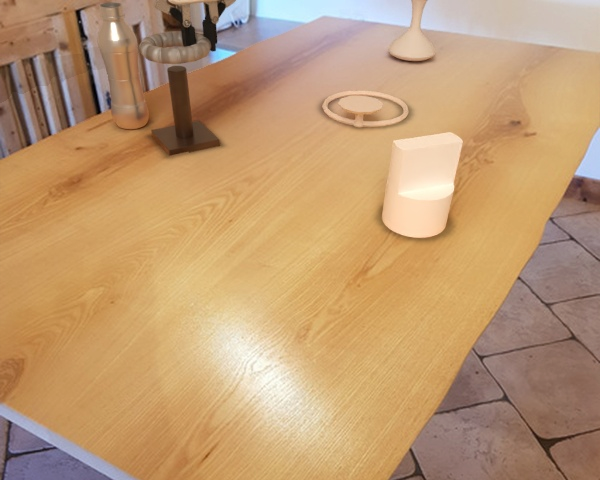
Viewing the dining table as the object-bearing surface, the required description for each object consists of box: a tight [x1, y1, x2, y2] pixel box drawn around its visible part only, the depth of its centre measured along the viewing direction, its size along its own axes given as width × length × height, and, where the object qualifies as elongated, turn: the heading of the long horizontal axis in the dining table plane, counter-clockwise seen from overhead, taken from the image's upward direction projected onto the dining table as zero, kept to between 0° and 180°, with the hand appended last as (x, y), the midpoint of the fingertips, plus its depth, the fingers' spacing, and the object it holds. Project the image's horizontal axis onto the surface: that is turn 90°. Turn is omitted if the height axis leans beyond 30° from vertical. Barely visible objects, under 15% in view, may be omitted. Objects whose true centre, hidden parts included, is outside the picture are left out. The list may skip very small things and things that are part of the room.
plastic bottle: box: [96, 1, 150, 130], centre depth 94 cm, size 6×7×20 cm
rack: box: [150, 65, 221, 157], centre depth 91 cm, size 9×9×12 cm
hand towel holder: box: [321, 89, 409, 128], centre depth 105 cm, size 17×4×21 cm
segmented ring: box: [138, 30, 211, 65], centre depth 85 cm, size 11×11×2 cm
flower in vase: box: [387, 0, 436, 62], centre depth 125 cm, size 13×11×25 cm
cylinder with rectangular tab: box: [381, 131, 464, 239], centre depth 73 cm, size 9×9×12 cm
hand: (200, 49), depth 87 cm, fingers closed on segmented ring, 2 cm apart
